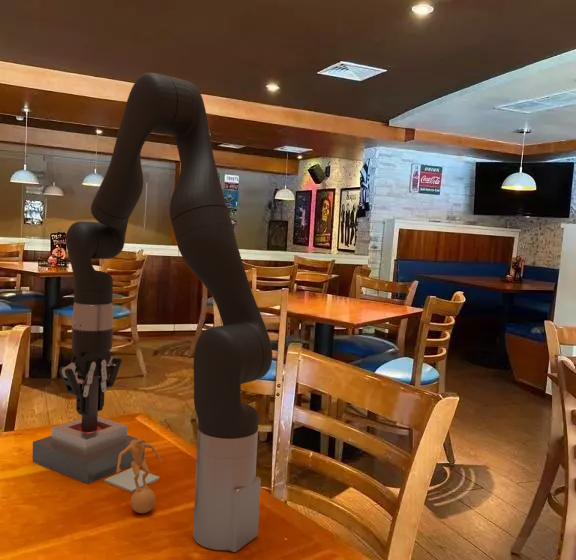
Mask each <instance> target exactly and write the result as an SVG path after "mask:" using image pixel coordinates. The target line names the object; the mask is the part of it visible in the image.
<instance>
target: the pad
mask: <svg viewBox="0 0 576 560" xmlns="http://www.w3.org/2000/svg"><path fill="white" fill-rule="evenodd" d="M139 473H140V474H139V478H138V480H137V481H138V484H139V487H140V488H143V487H144V485H143V480H142V478H143V477H142V476H143V474H145V472H144V471H143V470H142V469H140V471H139ZM135 476H136V475H135V474H134V472H133V469H132V467H130V468H129V469H126V470H124V471H122V472H121V471H120V474H119V475H118V473H116V474H115V475H112V476H110V477H108V478H106V479H104V483H106V484H109V485H112V486H114V487H117V488H119V489H122V490H124V491H127V492H130V493H134V492H135V491H136V490H137V489H136V485H135V480H134V477H135ZM160 478H161V477H160V476H159V475H155V474H153V473H150V472H149V474H148V475H147V477H146V478H145V481H146V484H147V486H148V485H151V484H152V483H155V482H156V481H159V480H160Z"/></svg>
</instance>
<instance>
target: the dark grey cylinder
mask: <svg viewBox="0 0 576 560" xmlns="http://www.w3.org/2000/svg"><path fill="white" fill-rule="evenodd" d="M83 379H84V380H85V379H86V378H83ZM82 389H83V385H82ZM98 389H99V375H97V376H93V379H92V384H91V385H90V386H89V392H88V397H89V400H88V414H87V415H84V416H83V415H81V418H82V422H81V431H83V432H94V431H96V430H97V423H98V416H99V413H98V412H99V411H98Z"/></svg>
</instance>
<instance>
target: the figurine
mask: <svg viewBox="0 0 576 560" xmlns="http://www.w3.org/2000/svg"><path fill="white" fill-rule="evenodd" d="M142 440H143V439H142V438H138V440H136V439H135V440H132V441H131V442H130V444H129V446H127V447H126V449H124V450H123V451H122V452H121V453H120V454H119V457H118V464H117V472H116V473H117V474H118V475H119V474H120V473H121V471H122V470H121V469H120V468H119V467H120V464H121V458H122V455H124V454H125V453H127V452H128V451H131V453H132V456H133V458H134V461H132V462H131V466H130V468H132V469H133V472H134V474H135V475H136V476H135V477H134V480H135V485H136V489H137V490H136V491H134V492H132V495H131V498H130V506H131V508H132V510H134V511H135V512H136V513H138V514H147V513H149V512H150V511H151V510H152V509H153V508H154V506H155V504H156V495H155V493H154V491H153V490H152V489H151V488H150V487H149V486H148V485H147V484H146V481H145V478H146V477H147V475H148V474H149V473H150V469H149V467H148V464H147V458H145V457H144V458H143V460H142V455H143V452H144V447H145V448H147V449H151V450H152V452H153V453H154V454H155V456H157V458H159V461H160V463H161V464H162V463H163V462H162V458H161V456H160V454H159V452H158V451H157V450H156V448H155V447H154V446H153V444H149V443H146V442H145V443H144V442H142ZM140 467H141V468H140ZM119 470H120V471H119ZM140 470H142V471H144V472H145V474H143V476H142V477H143V478H142V480H143V485H144V487H142V488H140V487H139V484H138V481H137V480H138V478H139V474H140V473H139V471H140Z"/></svg>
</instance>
